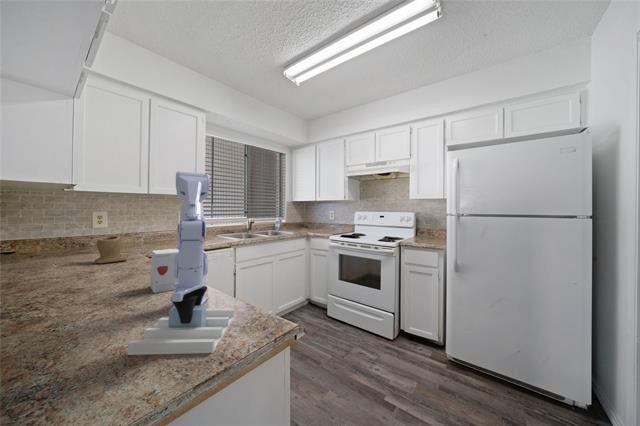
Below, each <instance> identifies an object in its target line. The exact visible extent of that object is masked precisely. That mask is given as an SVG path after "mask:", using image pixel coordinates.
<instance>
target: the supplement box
mask: <svg viewBox="0 0 640 426" xmlns="http://www.w3.org/2000/svg"><path fill="white" fill-rule="evenodd" d="M178 252H179V250H178V248H173V249H172V248H169V249H156V250H155V249H153V250H151V261H150V265H151V266H150V288H151V291H152V293H154V294H157V293H161V292H162V293H163V292H167V291H168V292H169V291H175V289H176V287H173V284H175V283H178V278H175V277H174V261H175V256H176V254H177V253H178Z"/></svg>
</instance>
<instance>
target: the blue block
mask: <svg viewBox="0 0 640 426" xmlns="http://www.w3.org/2000/svg"><path fill="white" fill-rule="evenodd" d="M173 306H174V307H173ZM173 306H172V307H173V308H172V307H171V308H170V309H169V310H168V318H169V319H168V328H186V327H206V309H207V305H201V306H194V308H193V314H192V319H191V322H190V323H189V324H181V322H180V318H179V314H178V311H177V309H176V307H175V305H173Z"/></svg>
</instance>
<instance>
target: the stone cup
mask: <svg viewBox="0 0 640 426" xmlns="http://www.w3.org/2000/svg"><path fill="white" fill-rule="evenodd" d="M122 244H123V243H122V239H121V237H120V236H119V235H109V236H105V237H104V236H101V237H100V238H98V239H97V241H96V248H97V251H98V252H99V258H95V260H94V261H93V262H94V263H96V264H109V263H117V262H126V261H127V260H128V259H129V253H126V254H121V247H122Z"/></svg>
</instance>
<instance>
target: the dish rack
mask: <svg viewBox="0 0 640 426" xmlns="http://www.w3.org/2000/svg"><path fill="white" fill-rule="evenodd" d="M235 311H236V310H235V308H206V327H186V328H168V319H169V317H160V318H159V319H158V320H157V327H147V328H146V329H144V338H143V339H141V340H140V339H139V340H136V339H135V340H134V339H133V340H130V341H129V342H128V343H127V352H126V353H127V354H126V355H127V356H131V355H132V356H135V355H140V356H141V355H142V356H145V355H181V354H182V355H183V354H185V355H186V354H191V355H192V354H213V353H214V352H215V350H216V348H217V347H218V345H219V343H220V341H221V340H222V338H223V337H224V335H225V334H226V332H227V330H228V329H229V327H230V326H231V324H232V322H233V321H234V318H235V313H236V312H235Z"/></svg>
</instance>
